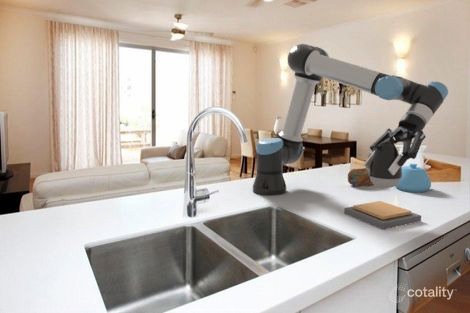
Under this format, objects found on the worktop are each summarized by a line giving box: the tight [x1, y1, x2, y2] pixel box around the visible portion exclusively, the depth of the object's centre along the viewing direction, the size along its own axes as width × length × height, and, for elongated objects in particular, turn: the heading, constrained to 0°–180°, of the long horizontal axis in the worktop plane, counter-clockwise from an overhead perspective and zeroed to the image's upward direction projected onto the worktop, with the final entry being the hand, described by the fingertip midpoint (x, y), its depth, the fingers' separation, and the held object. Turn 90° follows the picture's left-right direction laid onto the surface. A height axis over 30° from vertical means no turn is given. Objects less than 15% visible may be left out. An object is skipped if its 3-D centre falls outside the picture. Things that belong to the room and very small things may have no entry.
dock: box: [343, 206, 422, 230], centre depth 111 cm, size 17×17×2 cm
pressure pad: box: [352, 200, 412, 220], centre depth 111 cm, size 13×13×1 cm
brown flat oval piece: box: [347, 167, 374, 187], centre depth 155 cm, size 15×3×8 cm, turn 105°
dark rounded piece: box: [369, 141, 403, 189], centre depth 108 cm, size 10×10×15 cm
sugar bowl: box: [394, 163, 432, 193], centre depth 147 cm, size 15×15×12 cm
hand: (378, 169), depth 107 cm, fingers closed on dark rounded piece, 9 cm apart
